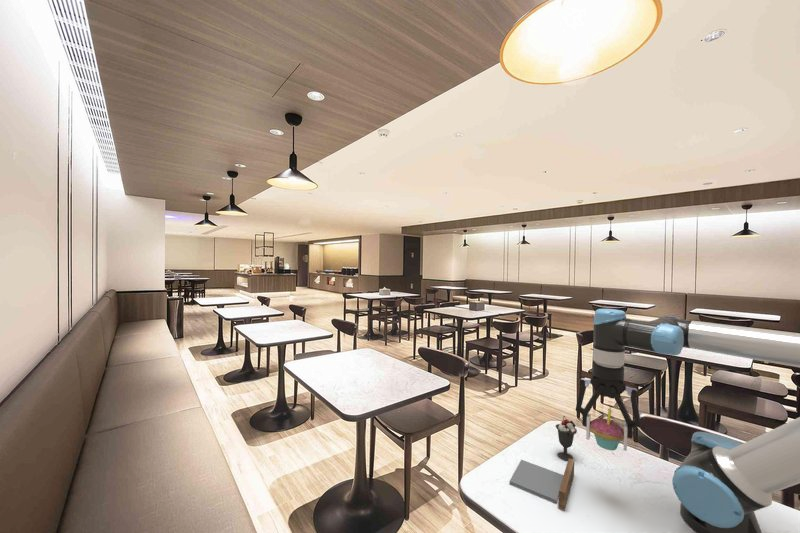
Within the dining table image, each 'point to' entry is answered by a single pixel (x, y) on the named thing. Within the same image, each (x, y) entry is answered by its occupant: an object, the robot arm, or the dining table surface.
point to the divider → (566, 484)
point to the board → (537, 480)
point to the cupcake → (607, 432)
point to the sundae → (566, 437)
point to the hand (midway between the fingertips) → (606, 442)
